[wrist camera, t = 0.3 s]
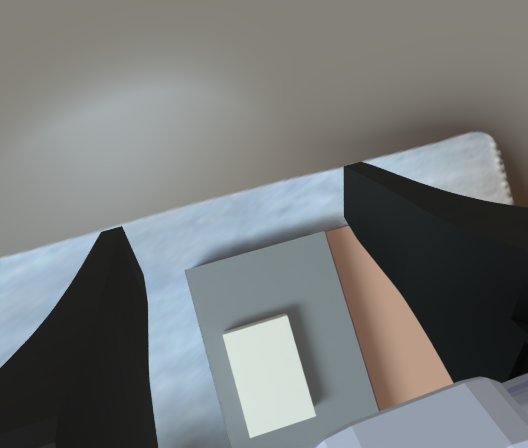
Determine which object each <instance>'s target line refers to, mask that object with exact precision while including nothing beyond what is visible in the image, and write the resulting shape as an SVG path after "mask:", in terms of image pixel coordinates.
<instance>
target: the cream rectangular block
mask: <svg viewBox="0 0 528 448" xmlns="http://www.w3.org/2000/svg"><path fill="white" fill-rule="evenodd" d="M223 339H224V342H225V346H226V350H227V354H228V357H229V361H230V365H231V369H232V372H233V376H234V380H235V384H236V387H237V391H238V395H239V399H240V402H241V406H242V410H243V414H244V417H245V421H246V425H247V429H248V432H249V436H250V438H252V437H255V436H258V435H261V434H264V433H267V432H270V431H273V430H276V429H279V428H282V427H285V426H288V425H291V424H294V423H297V422H300V421H303V420H306V419H309V418H312V417H315V416H316V414H315V411H314V407H313V404H312V400H311V397H310V393H309V390H308V386H307V383H306V379H305V376H304V372H303V369H302V365H301V362H300V358H299V355H298V351H297V348H296V344H295V341H294V337H293V334H292V330H291V327H290V323H289V320H288V316H287V315H286V314H285V313H284V314H280V315H277V316H274V317H270V318H267V319H264V320H260V321H257V322H254V323H250V324H247V325H244V326H240V327H237V328H234V329H230V330H227V331H224V332H223Z"/></svg>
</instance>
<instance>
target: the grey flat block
mask: <svg viewBox="0 0 528 448" xmlns="http://www.w3.org/2000/svg"><path fill="white" fill-rule="evenodd" d="M185 274H186V277H187V281H188V285H189V289H190V293H191V297H192V300H193V304H194V308H195V312H196V316H197V320H198V323H199V327H200V331H201V335H202V339H203V342H204V346H205V350H206V354H207V358H208V362H209V365H210V369H211V373H212V377H213V381H214V385H215V388H216V392H217V396H218V400H219V404H220V407H221V411H222V415H223V419H224V423H225V427H226V430H227V434H228V438H229V442H230V446H231V448H311V447H313V446H314V445H315V444H316V443H317V442H318V441H319V440H320V439H321V438H323V437H324V436H325V435H327V434H329V433H331V432H333V431H334V430H336V429H338V428H340V427H342V426H344V425H346V424H348V423H350V422H353V421H356V420H358V419H361V418H364V417H366V416H369V415H372V414H374V413H377V412H379V410H378V406H377V403H376V400H375V397H374V393H373V390H372V387H371V383H370V380H369V377H368V373H367V370H366V367H365V363H364V360H363V357H362V354H361V350H360V347H359V344H358V340H357V337H356V334H355V330H354V327H353V324H352V320H351V317H350V314H349V311H348V307H347V304H346V301H345V297H344V294H343V291H342V287H341V284H340V281H339V277H338V274H337V271H336V268H335V264H334V261H333V258H332V254H331V251H330V248H329V244H328V241H327V238H326V234H325V231H322V232H318V233H315V234H311V235H308V236H304V237H300V238H297V239H293V240H290V241H286V242H283V243H279V244H276V245H272V246H269V247H265V248H261V249H258V250H254V251H251V252H247V253H244V254H240V255H237V256H233V257H229V258H226V259H222V260H219V261H215V262H212V263H208V264H205V265H201V266H197V267H194V268H190V269H187V270H185ZM284 313H285V314H286V315H287V316H288V320H289V323H290V327H291V330H292V334H293V337H294V341H295V344H296V348H297V351H298V355H299V358H300V362H301V365H302V369H303V372H304V376H305V379H306V383H307V386H308V390H309V393H310V397H311V400H312V404H313V407H314V411H315V414H316V416H315V417H312V418H309V419H306V420H303V421H300V422H297V423H294V424H291V425H288V426H285V427H282V428H279V429H276V430H273V431H270V432H267V433H264V434H261V435H258V436H255V437H252V438H250V436H249V432H248V429H247V425H246V421H245V417H244V414H243V410H242V406H241V402H240V399H239V395H238V391H237V387H236V384H235V380H234V376H233V372H232V369H231V365H230V361H229V357H228V354H227V350H226V346H225V342H224V339H223V332H224V331H227V330H230V329H234V328H237V327H240V326H244V325H247V324H250V323H254V322H257V321H260V320H264V319H267V318H270V317H274V316H277V315H280V314H284Z"/></svg>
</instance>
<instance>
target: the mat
mask: <svg viewBox="0 0 528 448" xmlns="http://www.w3.org/2000/svg"><path fill="white" fill-rule="evenodd" d="M325 234H326V238H327V241H328V244H329V248H330V251H331V254H332V258H333V261H334V264H335V268H336V271H337V274H338V277H339V281H340V284H341V287H342V291H343V294H344V297H345V301H346V304H347V307H348V311H349V314H350V317H351V320H352V324H353V327H354V330H355V334H356V337H357V340H358V344H359V347H360V350H361V354H362V357H363V360H364V363H365V367H366V370H367V373H368V377H369V380H370V383H371V387H372V390H373V393H374V397H375V400H376V403H377V406H378V410H379V411H382V410H385V409H387V408H390V407H393V406H395V405H398V404H401V403H403V402H406V401H408V400H411V399H414V398H416V397H419V396H422V395H424V394H427V393H430V392H432V391H435V390H437V389H440V388H443V387H445V386H448V385H451V384H453V381H452V380H451V378H450V376H449V374H448V372H447V370H446V368H445V367H444V365H443V363H442V361H441V359H440V358H439V356H438V354H437V352H436V351H435V349H434V347H433V345H432V343H431V342H430V340H429V338H428V337H427V335H426V333H425V332H424V330H423V328H422V327H421V325H420V323H419V322H418V320H417V319H416V317H415V315H414V314H413V312H412V311H411V309H410V308H409V306H408V304H407V303H406V301H405V300H404V298H403V297H402V295H401V294H400V293H399V291H398V290H397V288H396V287H395V286H394V285H393V283H392V282H391V281H390V280H389V278H388V277H387V276H386V275H385V273H384V272H383V271H382V270H381V269H380V267H379V266H378V265H377V264H376V262H375V261H374V260H373V259H372V257H371V256H370V255H369V254H368V252H367V251H366V250H365V249H364V247H363V246H362V245H361V244H360V242H359V241H358V240H357V238H356V237H355V235H354V233H353V232H352V230H351V228H350V226H345V227H341V228H338V229H334V230H331V231H327V232H325Z"/></svg>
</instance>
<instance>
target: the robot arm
mask: <svg viewBox="0 0 528 448" xmlns="http://www.w3.org/2000/svg"><path fill="white" fill-rule="evenodd" d="M344 218H345V219H346V221H347V223H348V225H349V226H350V228H351V230H352V232H353V233H354V235H355V237H356V238H357V240H358V241H359V242H360V244H361V245H362V246H363V247H364V249H365V250H366V251H367V252H368V254H369V255H370V256H371V257H372V259H373V260H374V261H375V262H376V264H377V265H378V266H379V267H380V269H381V270H382V271H383V272H384V273H385V275H386V276H387V277H388V278H389V280H390V281H391V282H392V283H393V285H394V286H395V287H396V288H397V290H398V291H399V293H400V294H401V295H402V297H403V298H404V300H405V301H406V303H407V304H408V306H409V308H410V309H411V311H412V312H413V314H414V315H415V317H416V319H417V320H418V322H419V323H420V325H421V327H422V328H423V330H424V332H425V333H426V335H427V337H428V338H429V340H430V342H431V343H432V345H433V347H434V349H435V351H436V352H437V354H438V356H439V358H440V359H441V361H442V363H443V365H444V367H445V368H446V370H447V372H448V374H449V376H450V378H451V380H452V381H453V384H451V385H448V386H445V387H443V388H440V389H437V390H435V391H432V392H430V393H427V394H424V395H422V396H419V397H416V398H414V399H411V400H408V401H406V402H403V403H401V404H398V405H395V406H393V407H390V408H387V409H385V410H382V411H379V412H377V413H374V414H372V415H369V416H366V417H364V418H361V419H358V420H356V421H353V422H350V423H348V424H346V425H344V426H342V427H340V428H338V429H336V430H334V431H333V432H331V433H329V434H327V435H325V436H324V437H323V438H321V439H320V440H319V441H318V442H317V443H316V444H315V445H314V446H313V447H311V448H528V208H527V207H519V206H513V205H507V204H500V203H494V202H489V201H484V200H479V199H475V198H471V197H467V196H462V195H458V194H455V193H451V192H447V191H444V190H441V189H438V188H434V187H431V186H428V185H425V184H422V183H419V182H416V181H414V180H411V179H408V178H405V177H403V176H400V175H397V174H395V173H392V172H389V171H387V170H384V169H381V168H379V167H376V166H373V165H370V164H367V163H364V162H358V163H355V164H351V165H347V166H344ZM0 448H158V443H157V435H156V428H155V421H154V414H153V406H152V398H151V389H150V381H149V355H148V301H147V294H146V287H145V281H144V275H143V272H142V270H141V268H140V266H139V263H138V261H137V259H136V257H135V254H134V252H133V250H132V248H131V245H130V243H129V241H128V239H127V236H126V234H125V232H124V230H123V227H122V226H121V227H118V228H114V229H110V230H106V231H103V232H101V233H100V235H99V237H98V238H97V240H96V242H95V244H94V245H93V247H92V249H91V251H90V252H89V254H88V256H87V258H86V259H85V261H84V263H83V265H82V266H81V268H80V270H79V271H78V273H77V275H76V276H75V278H74V279H73V281H72V283H71V284H70V286H69V287H68V289H67V290H66V291H65V293H64V294H63V296H62V297H61V299H60V300H59V302H58V303H57V305H56V306H55V307H54V309H53V310H52V311H51V313H50V314H49V315H48V316H47V318H46V319H45V320H44V321H43V322H42V324H41V325H40V326H39V327H38V328H37V330H36V331H35V332H34V333H33V334H32V335H31V337H30V338H29V339H28V340H27V341H26V342H25V343H24V344H23V345H22V346H21V347H20V348H19V349H18V350H17V351H16V352H15V353H14V354H13V356H12V357H11V358H10V359H9V360H8V361H7V362H6V363H5V364H4V365H3V366H2V367H1V368H0Z"/></svg>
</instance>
